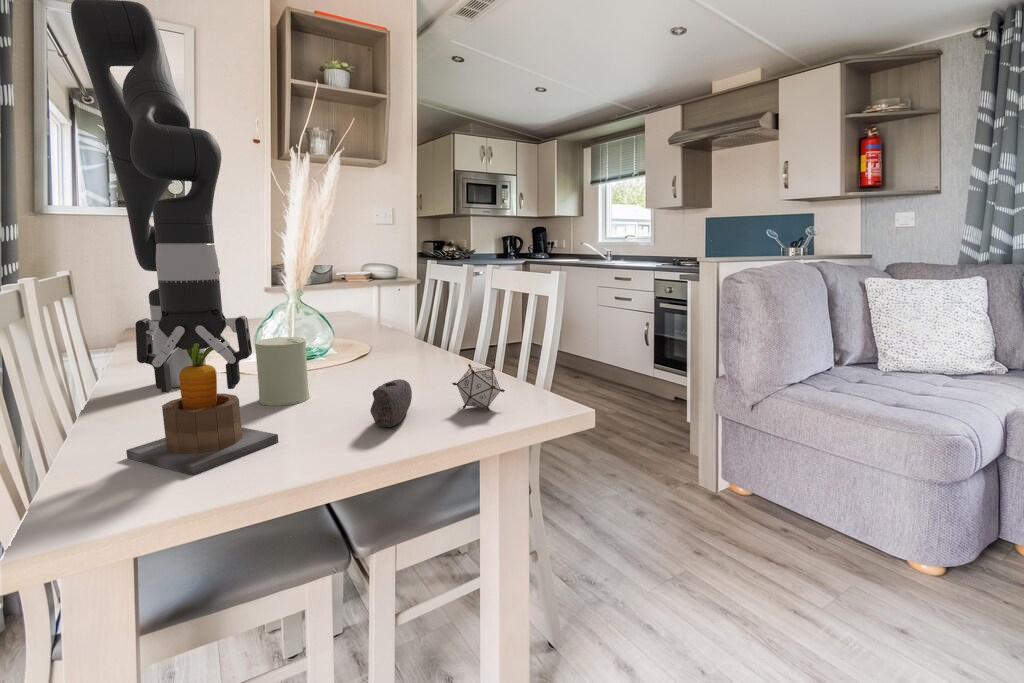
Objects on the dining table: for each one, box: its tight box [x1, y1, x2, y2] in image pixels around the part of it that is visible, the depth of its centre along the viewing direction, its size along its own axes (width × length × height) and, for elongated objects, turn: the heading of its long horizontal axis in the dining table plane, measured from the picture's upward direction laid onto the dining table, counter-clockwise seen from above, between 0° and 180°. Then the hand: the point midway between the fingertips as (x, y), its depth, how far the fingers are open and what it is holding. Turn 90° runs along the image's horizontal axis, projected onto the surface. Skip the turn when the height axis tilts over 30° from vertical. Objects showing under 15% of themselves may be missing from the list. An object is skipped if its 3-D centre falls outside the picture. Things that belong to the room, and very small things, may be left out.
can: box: [254, 336, 311, 407], centre depth 109 cm, size 9×9×12 cm
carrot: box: [179, 343, 218, 410], centre depth 82 cm, size 5×5×15 cm
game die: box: [451, 363, 506, 412], centre depth 104 cm, size 9×8×10 cm
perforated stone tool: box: [370, 379, 413, 428], centre depth 98 cm, size 15×5×7 cm, turn 173°
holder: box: [126, 393, 279, 476], centre depth 83 cm, size 14×14×7 cm
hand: (199, 389), depth 82 cm, fingers open, 8 cm apart
